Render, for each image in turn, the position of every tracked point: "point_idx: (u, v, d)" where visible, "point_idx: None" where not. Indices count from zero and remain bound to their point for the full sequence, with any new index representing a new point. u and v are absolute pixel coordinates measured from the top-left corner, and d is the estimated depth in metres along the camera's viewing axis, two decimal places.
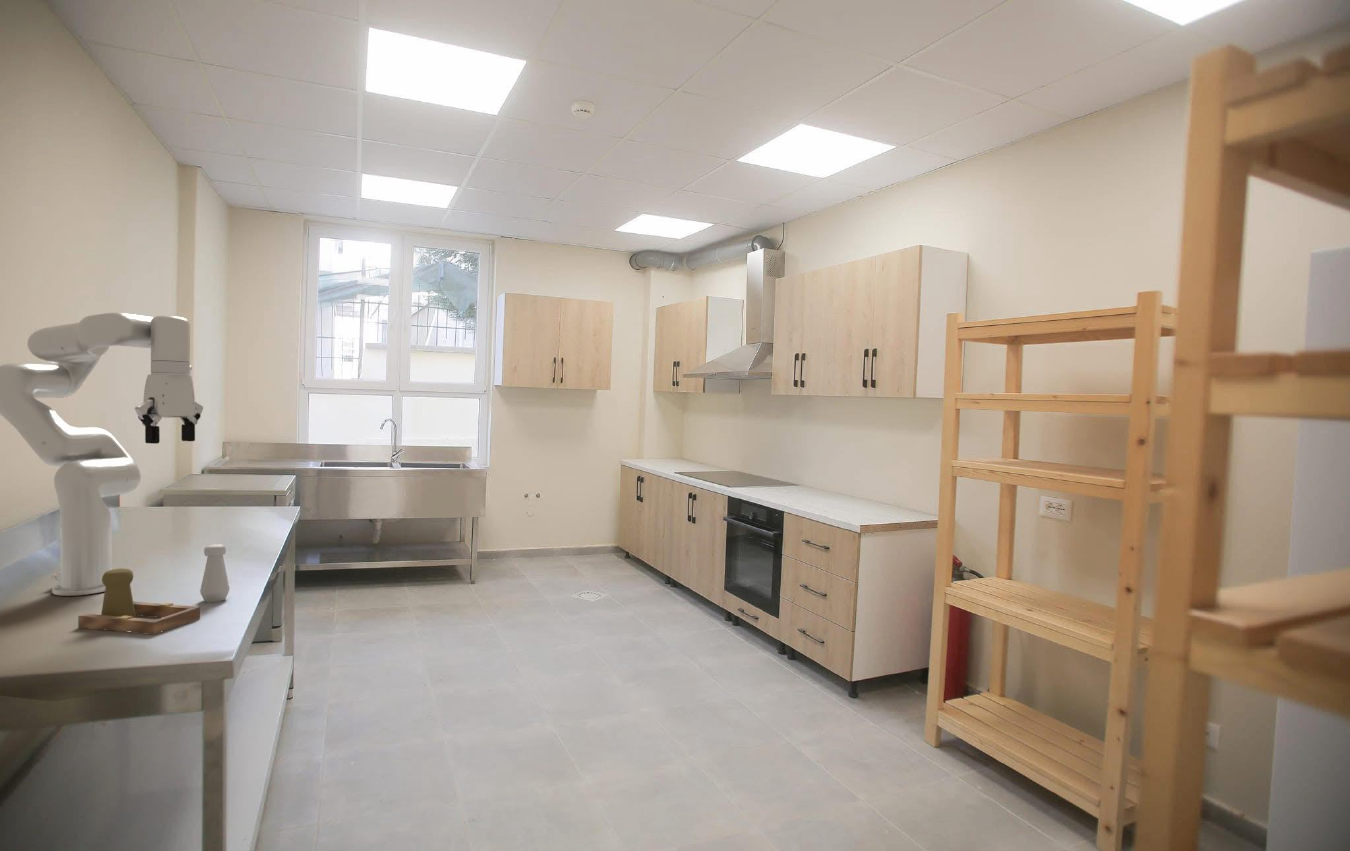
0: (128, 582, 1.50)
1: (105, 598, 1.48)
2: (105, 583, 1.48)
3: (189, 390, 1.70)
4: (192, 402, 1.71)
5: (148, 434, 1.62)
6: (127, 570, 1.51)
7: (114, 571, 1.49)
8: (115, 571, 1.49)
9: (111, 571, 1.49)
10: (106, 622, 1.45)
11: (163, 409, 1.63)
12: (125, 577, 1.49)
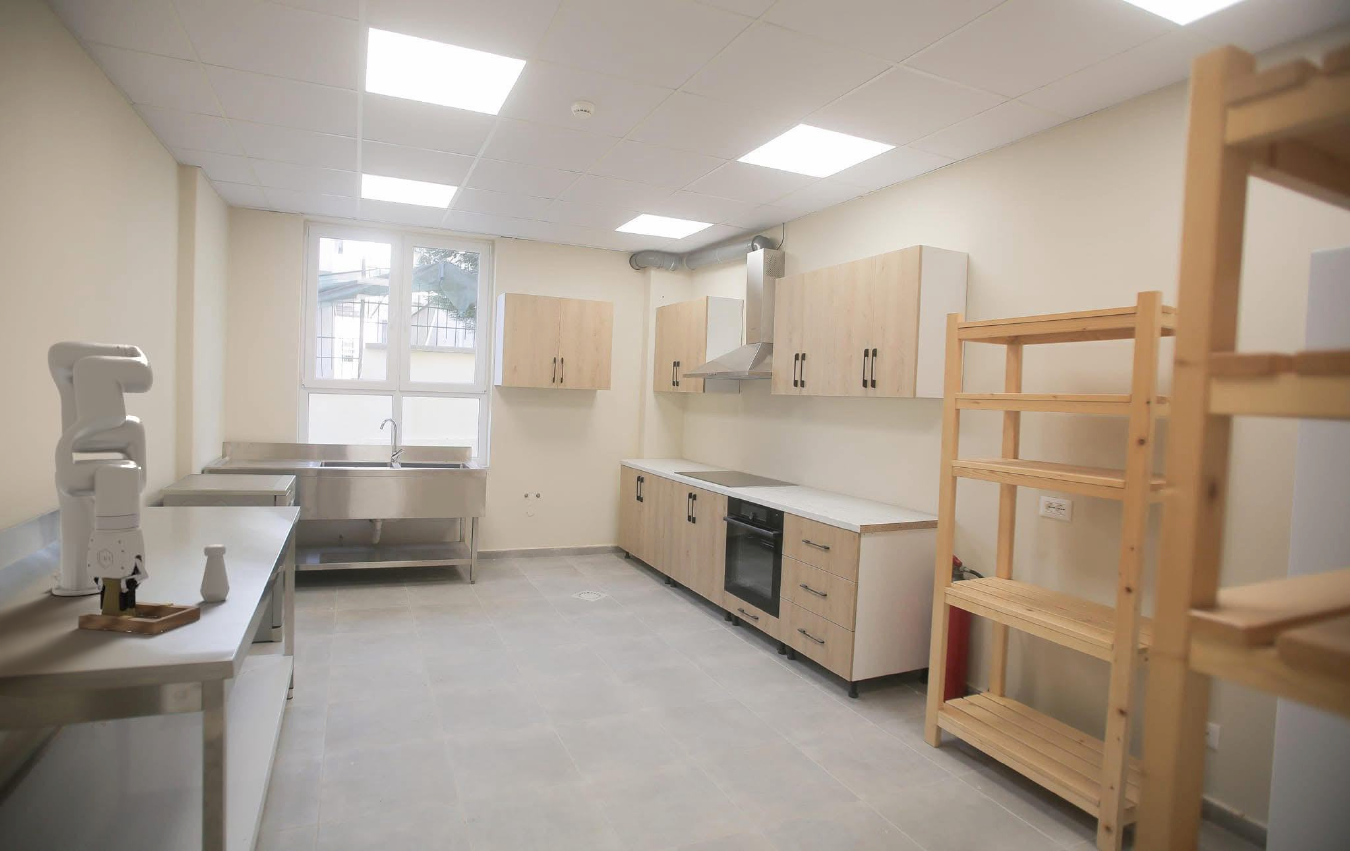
0: (128, 582, 1.50)
1: (105, 598, 1.48)
2: (105, 583, 1.48)
3: None
4: None
5: (130, 600, 1.50)
6: None
7: None
8: None
9: None
10: (106, 622, 1.45)
11: None
12: None
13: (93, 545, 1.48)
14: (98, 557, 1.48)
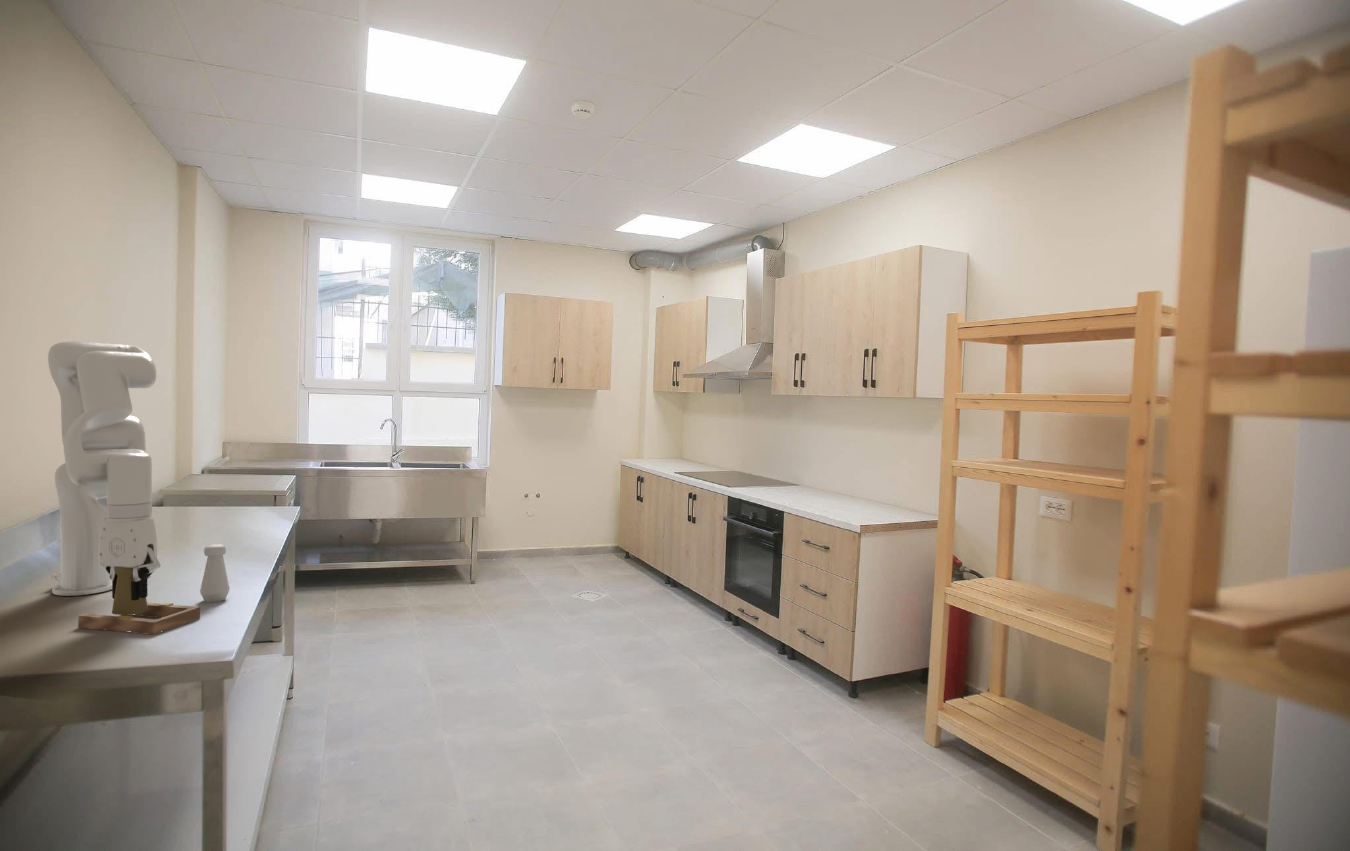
0: (140, 571, 1.50)
1: (117, 587, 1.48)
2: (117, 572, 1.47)
3: None
4: None
5: (142, 590, 1.49)
6: None
7: None
8: None
9: None
10: (106, 622, 1.45)
11: None
12: None
13: (106, 534, 1.47)
14: (110, 546, 1.47)
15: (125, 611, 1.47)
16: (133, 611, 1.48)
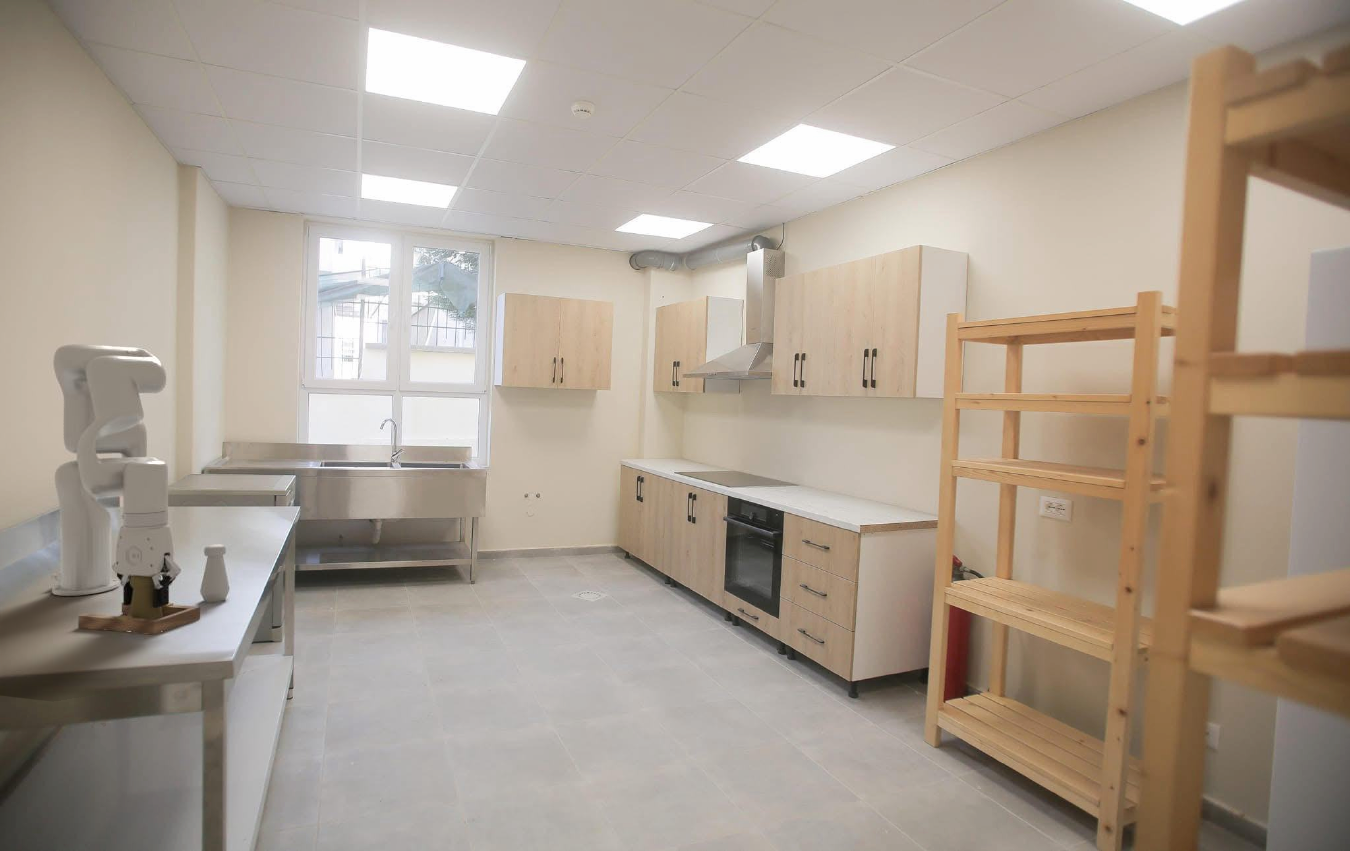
0: None
1: (133, 600, 1.47)
2: (133, 585, 1.47)
3: None
4: None
5: (163, 597, 1.48)
6: None
7: None
8: None
9: None
10: (106, 622, 1.45)
11: None
12: None
13: (122, 542, 1.47)
14: (127, 554, 1.47)
15: None
16: None
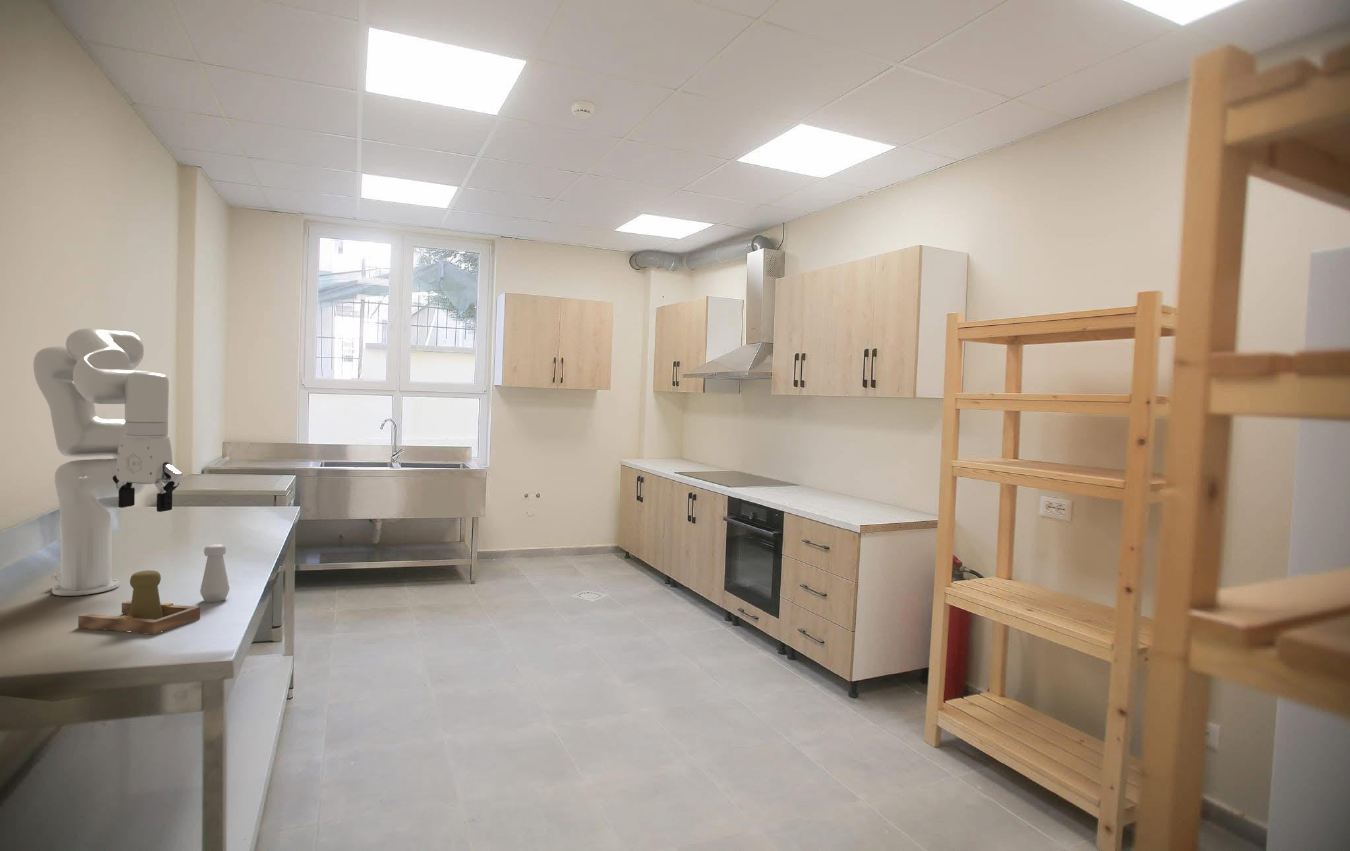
0: (156, 584, 1.49)
1: (133, 600, 1.47)
2: (133, 585, 1.47)
3: None
4: None
5: (167, 502, 1.53)
6: (155, 572, 1.50)
7: (142, 573, 1.48)
8: (143, 573, 1.48)
9: (139, 573, 1.48)
10: (106, 622, 1.45)
11: None
12: (153, 579, 1.48)
13: (123, 450, 1.51)
14: (127, 462, 1.51)
15: None
16: None
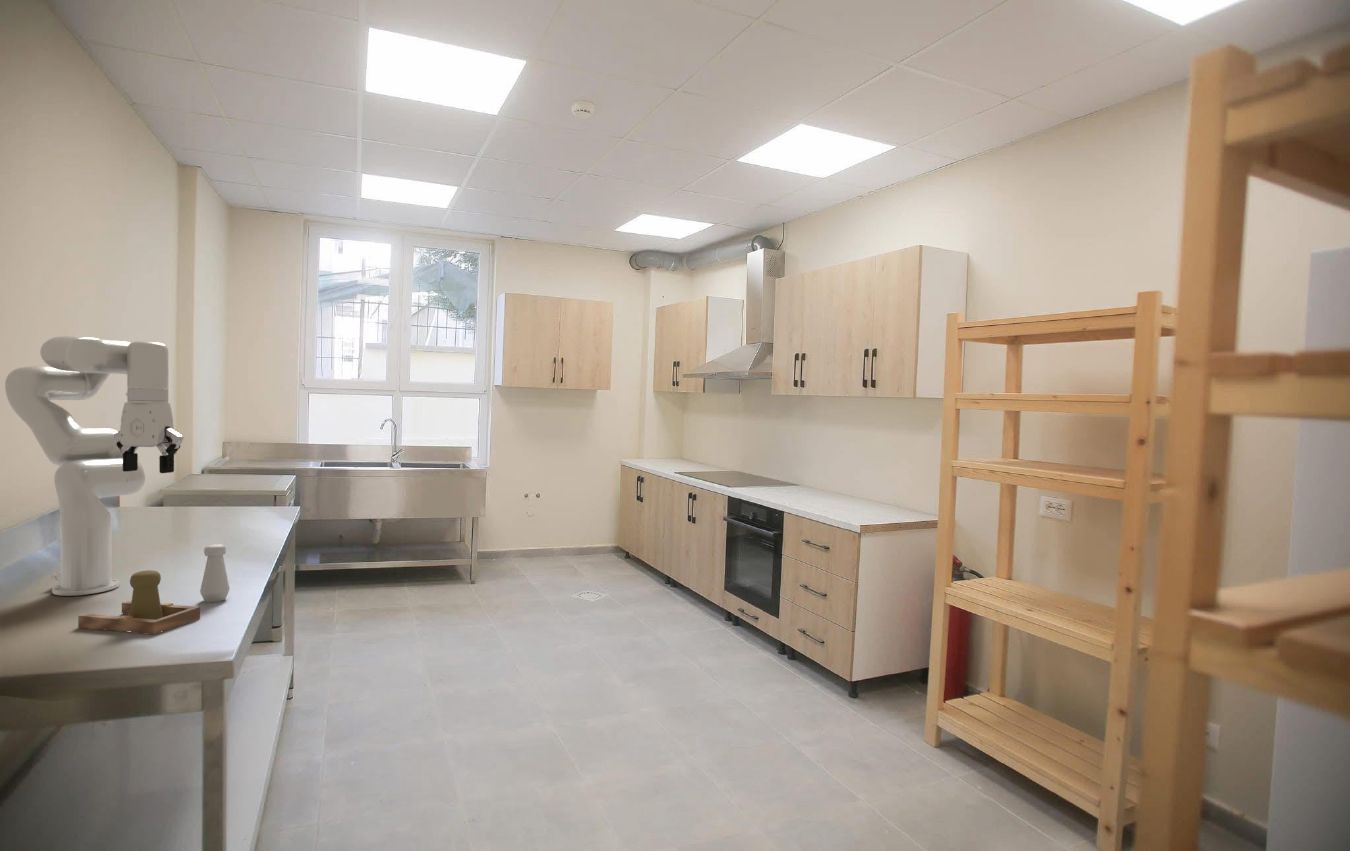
0: (156, 584, 1.49)
1: (133, 600, 1.47)
2: (133, 585, 1.47)
3: None
4: None
5: (169, 464, 1.61)
6: (155, 572, 1.50)
7: (142, 573, 1.48)
8: (143, 573, 1.48)
9: (139, 573, 1.48)
10: (106, 622, 1.45)
11: None
12: (153, 579, 1.48)
13: (126, 416, 1.60)
14: (130, 427, 1.59)
15: None
16: None
